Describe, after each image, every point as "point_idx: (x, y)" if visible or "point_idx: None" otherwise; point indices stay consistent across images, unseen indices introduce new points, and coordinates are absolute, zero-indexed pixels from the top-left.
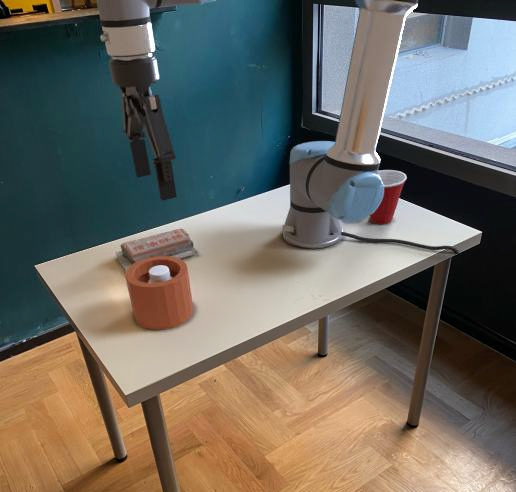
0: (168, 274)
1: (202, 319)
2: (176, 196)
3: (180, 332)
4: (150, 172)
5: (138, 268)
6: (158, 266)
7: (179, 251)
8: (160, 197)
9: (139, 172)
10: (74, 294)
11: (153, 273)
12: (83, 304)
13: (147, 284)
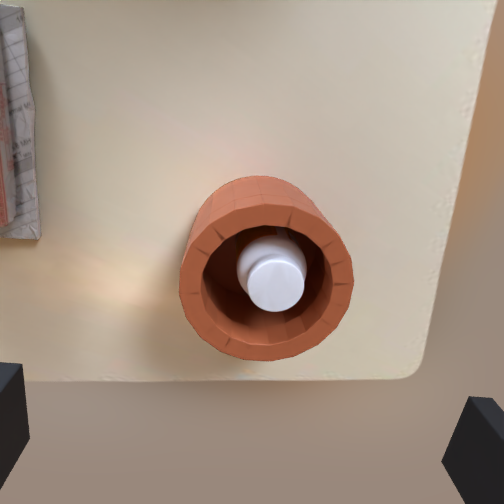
0: (298, 267)
1: (338, 186)
2: (493, 401)
3: None
4: (13, 374)
5: (209, 311)
6: (256, 279)
7: (1, 66)
8: (447, 471)
9: (14, 451)
10: (67, 356)
11: (282, 305)
12: (119, 354)
13: (315, 333)
